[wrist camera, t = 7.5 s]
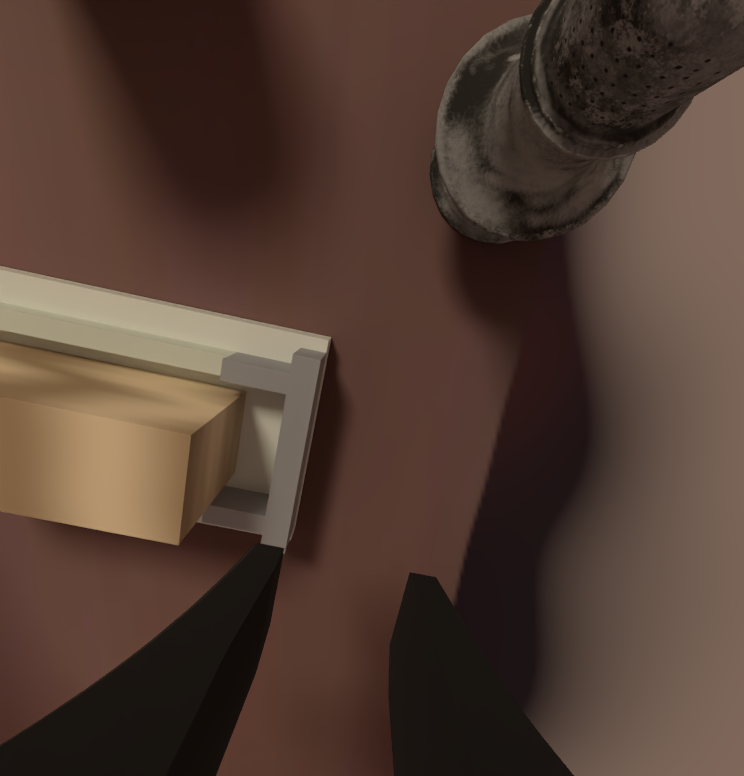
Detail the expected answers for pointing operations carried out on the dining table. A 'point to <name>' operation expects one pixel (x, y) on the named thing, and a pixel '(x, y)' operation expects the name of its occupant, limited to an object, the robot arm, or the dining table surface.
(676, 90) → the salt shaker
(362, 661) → the dining table surface
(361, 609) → the dining table surface
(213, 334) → the cream rectangular tray
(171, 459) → the tan wooden block
